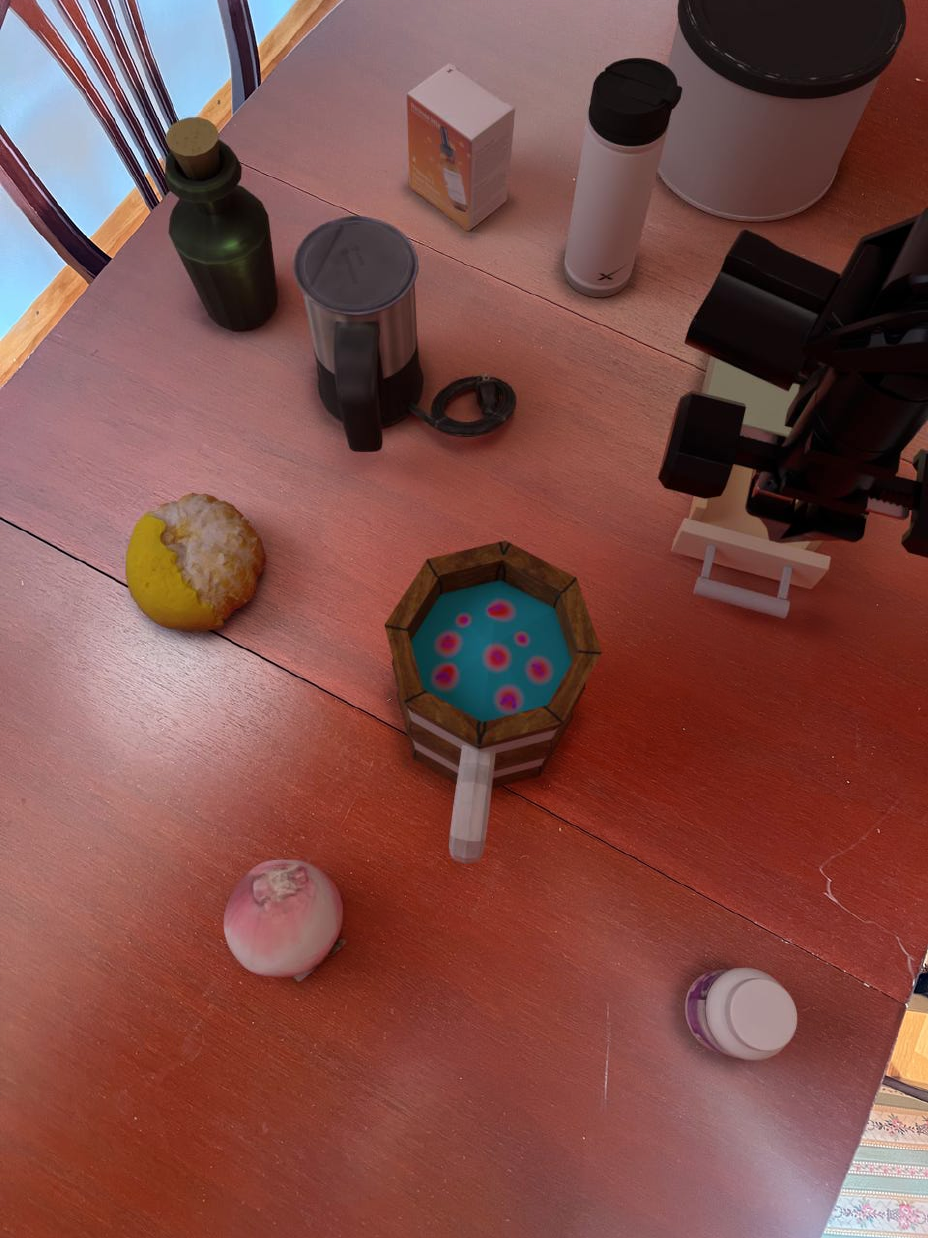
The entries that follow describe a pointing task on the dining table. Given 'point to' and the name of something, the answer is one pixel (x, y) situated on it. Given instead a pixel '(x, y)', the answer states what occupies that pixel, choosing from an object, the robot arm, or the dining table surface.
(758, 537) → the drawer
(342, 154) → the dining table surface
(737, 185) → the container
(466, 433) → the milk frother
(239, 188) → the potion bottle
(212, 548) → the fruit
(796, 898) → the dining table surface
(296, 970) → the turnip
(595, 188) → the travel mug
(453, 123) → the small box
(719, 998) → the pill bottle
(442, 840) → the dining table surface
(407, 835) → the dining table surface
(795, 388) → the cabinet
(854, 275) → the robot arm
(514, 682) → the mug
